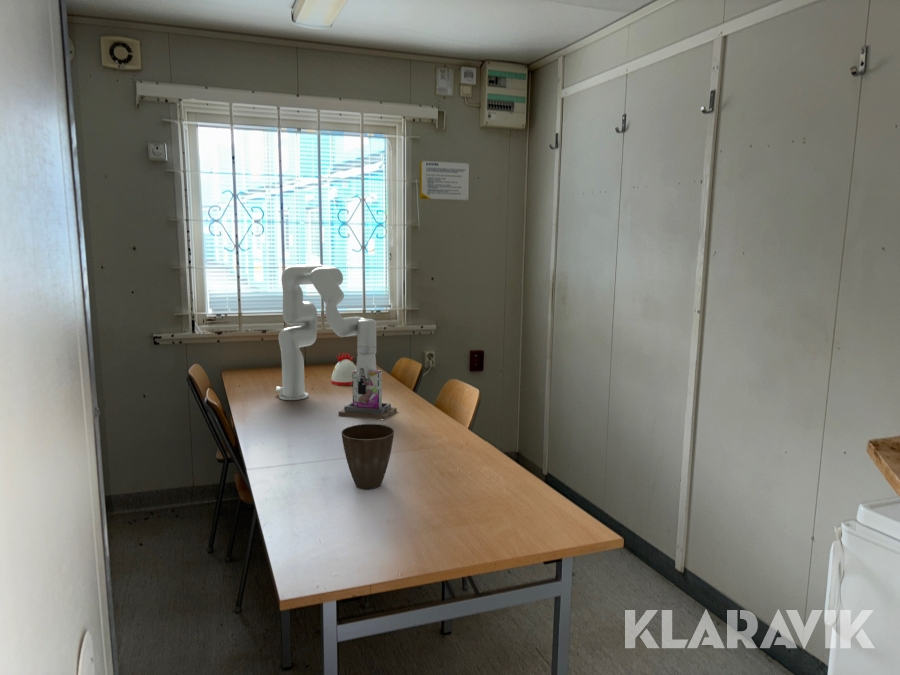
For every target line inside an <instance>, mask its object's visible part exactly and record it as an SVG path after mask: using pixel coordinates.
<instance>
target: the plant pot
mask: <svg viewBox="0 0 900 675" xmlns="http://www.w3.org/2000/svg"><path fill="white" fill-rule="evenodd" d="M394 434H395V430H394V429H393V427H391V426H388V425H384V424H377V423H363V424H357V425H356V424H355V425H351V426H348V427H346V428H343V430H341V439H342V444H343V449H344V450H343V451H344V454H345V458H346V463H347V465H348V466H347V467H348V469H349V472H350V476H351V478H352V481H353V482H354V485H355V487H356V488H358V489H361V490H374V489H377V488H379V487H381V485H382V484H383V480H384V479H385V476H386V471H387V469H388V465H389V462H390V458H391V457H390V456H391V454H392V446H393V442H394V436H395V435H394Z"/></svg>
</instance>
